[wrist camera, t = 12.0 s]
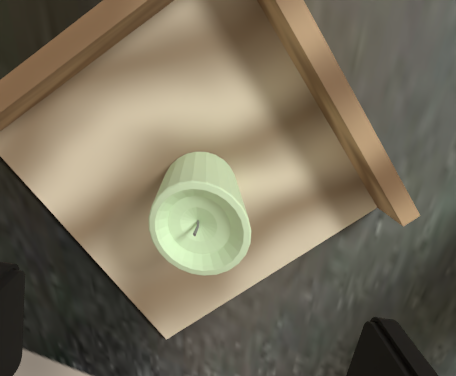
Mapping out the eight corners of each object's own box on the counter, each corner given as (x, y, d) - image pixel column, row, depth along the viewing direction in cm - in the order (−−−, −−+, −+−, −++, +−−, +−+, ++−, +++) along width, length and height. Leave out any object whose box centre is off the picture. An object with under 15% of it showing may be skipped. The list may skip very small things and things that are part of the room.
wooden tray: (388, 196, 26) (420, 216, 22) (167, 335, 28) (161, 374, 24) (236, -74, 20) (243, -110, 17) (-23, 124, 23) (-69, 133, 19)
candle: (168, 224, 25) (151, 290, 17) (158, 154, 23) (134, 191, 16) (239, 217, 25) (255, 278, 17) (233, 147, 24) (247, 179, 16)
